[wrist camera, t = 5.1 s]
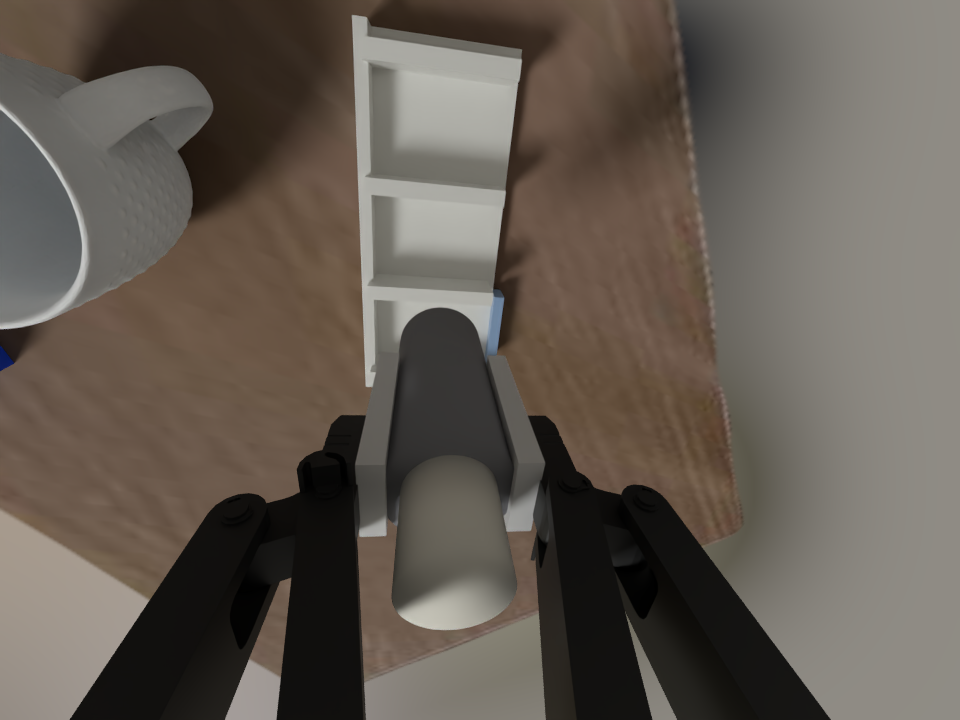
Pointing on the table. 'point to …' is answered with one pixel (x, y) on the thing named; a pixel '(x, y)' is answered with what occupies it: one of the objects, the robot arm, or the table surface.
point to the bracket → (4, 359)
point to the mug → (89, 181)
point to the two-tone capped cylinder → (448, 479)
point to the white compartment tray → (430, 178)
